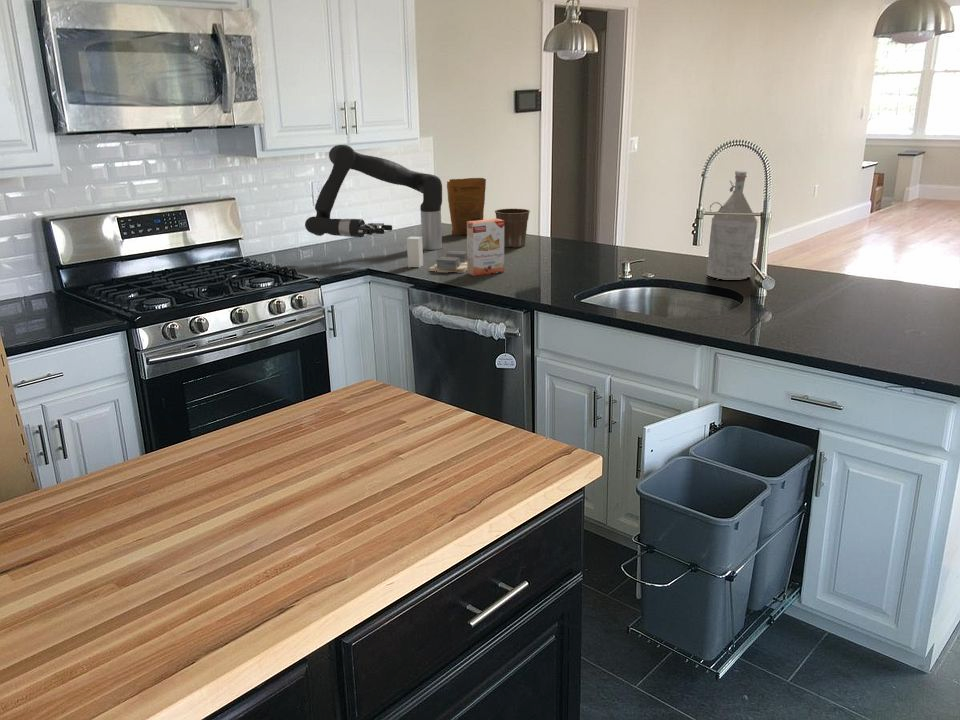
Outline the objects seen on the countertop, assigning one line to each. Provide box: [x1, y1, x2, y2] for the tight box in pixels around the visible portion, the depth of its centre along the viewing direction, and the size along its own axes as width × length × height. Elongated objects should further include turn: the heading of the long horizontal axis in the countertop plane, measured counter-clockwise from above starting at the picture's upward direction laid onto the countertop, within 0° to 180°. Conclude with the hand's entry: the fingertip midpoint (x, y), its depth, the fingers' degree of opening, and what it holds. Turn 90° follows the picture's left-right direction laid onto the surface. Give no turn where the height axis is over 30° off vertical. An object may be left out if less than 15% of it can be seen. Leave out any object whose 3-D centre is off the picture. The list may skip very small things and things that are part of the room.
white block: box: [406, 236, 424, 269], centre depth 320 cm, size 4×5×12 cm
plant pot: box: [494, 208, 531, 249], centre depth 358 cm, size 16×16×16 cm
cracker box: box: [466, 218, 505, 277], centre depth 305 cm, size 14×6×21 cm, turn 118°
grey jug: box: [706, 169, 758, 278], centre depth 288 cm, size 13×17×40 cm
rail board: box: [429, 250, 467, 274], centre depth 318 cm, size 18×14×5 cm
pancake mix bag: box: [446, 177, 487, 236], centre depth 384 cm, size 7×19×28 cm, turn 85°
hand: (388, 229), depth 320 cm, fingers open, 8 cm apart
